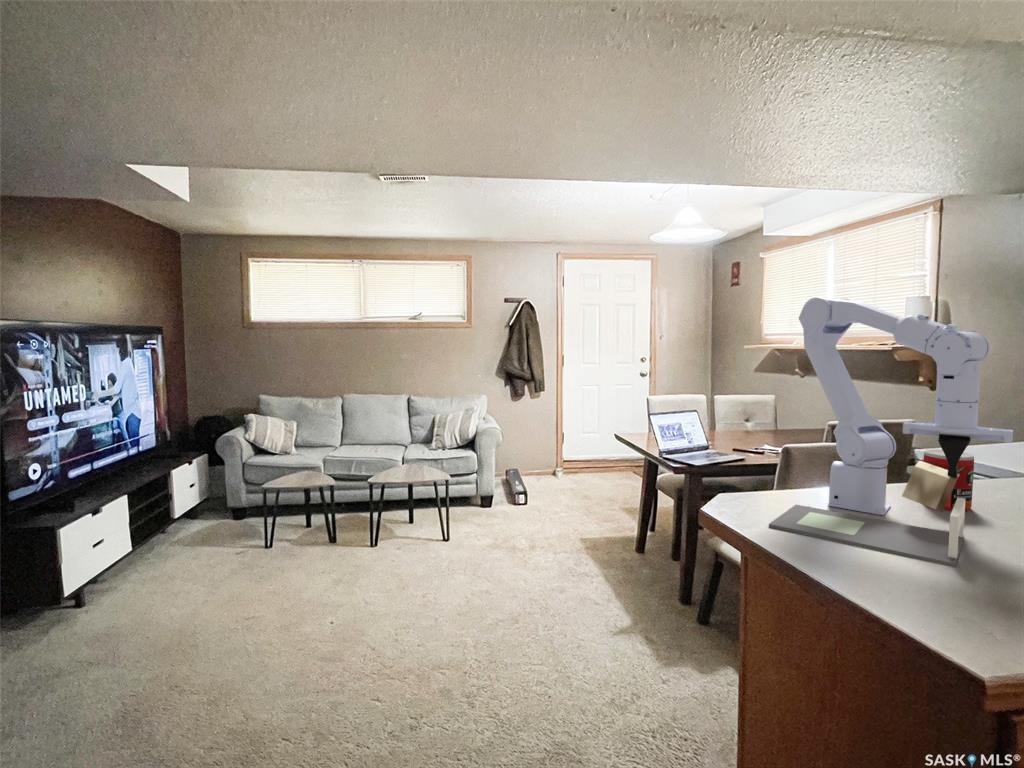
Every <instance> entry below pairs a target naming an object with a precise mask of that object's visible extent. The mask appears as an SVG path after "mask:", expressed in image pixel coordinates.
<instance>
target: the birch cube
mask: <svg viewBox="0 0 1024 768" xmlns="http://www.w3.org/2000/svg"><path fill="white" fill-rule="evenodd" d="M959 475H960V474H958V476H957V478H954V477H951V476H948V470H946V469H943V468H940V467H937V466H934V465H931V464H928V463H925V462H923V461H922V460H918V461H917V463H916V464H915V465H914V468H913V470H912V471H911V474H910V476H909V479H908V481H907V483H906V486H905V488H904V490H903V492H902V495H901V497H902V498H905V499H907V500H910V501H912V502H915V503H918V504H921V505H923V506H926V507H928V508H931V509H933V510H936V511H938V512H941V513H943V511H945V510H944V508H945V505H946V503H947V501H948V499H949V497H950V495H951V492H952V490H953V488H954V486H955V484H956V481H957V479H958V477H959Z"/></svg>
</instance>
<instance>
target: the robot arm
mask: <svg viewBox="0 0 1024 768" xmlns="http://www.w3.org/2000/svg"><path fill="white" fill-rule="evenodd" d="M930 318H931V315H928V314H925V313H919V314H918V315H916V314H910V315H907V316H905V317H900V316H898V315H895V314H893V313H890V312H888V311H885V310H882V309H879V308H878V307H875V306H872V305H870V304H867V303H865V302H863V301H858V300H851V299H849V298H826V297H825V298H824V297H820V296H819V297H812V298H810V299H808V300H807V301H806V302H805V303H804V305H803V306H802V309H801V312H800V314H799V316H798V320H799V322H800V324H801V327H802V329H803V346H804V350H805V352H806V354H807V356H808V357H807V358H808V359H809V362H810V363H811V365H812V367H813V369H814V372H815V374H816V376H817V379H818V380H819V382H820V385H821V387H822V389H823V391H824V394H825V396H826V398H827V400H828V402H829V405H830V407H831V409H832V411H833V413H834V416H835V417H836V420H837V424H836V427H835V428H834V430H833V435H834V437H835V442H836V446H835V447H836V452H837V455H838V456H839V458H840V459H841V460H842V461H840V460H839V461H838V460H833V462H832V463H831V466H830V471H829V487H828V488H829V489H828V490H829V492H828V503H827V506H829V507H833V508H839V509H845V510H851V511H856V512H862V513H867V514H873V515H878V516H885V514H886V513H887V512H888V511H889V509H890V508H892V507H891V504H889V503H886V502H887V499H886V497H887V476H888V465H889V459H891V458H892V457H893V456H895V453H896V451H897V442H896V440H895V437H894V436H893V435H892V434H891V433H890V432H888V431H887V430H886V429H885V428H884V426H883V424H882V422H881V421H880V420H878V419H877V418H876V417H874V416H872V415H871V414H870V413H869V412H868V410H867V408H866V406H865V404H864V402H863V400H862V398H861V396H860V393H859V392H858V390H857V388H856V386H855V383H854V382H853V379H852V377H851V376H850V373H849V371H848V370H847V367H846V365H845V362H844V361H843V359H842V357H841V355H840V353H839V350H838V348H837V344H838V342H839V341H840V339H841V338H842V337H844V335H845V333H847V331H848V330H849V329H850V327H851V326H852V325H853V324H862V325H864V326H868V327H871V328H874V329H876V330H880V331H883V332H886V333H889V334H892V335H893V338H894V341H895V342H896V343H897V344H899V345H901V346H904V347H906V348H909V349H912V350H914V351H917V352H920V353H922V354H925V355H927V356H930V357H931V358H932V359H933V361H934V362H935V363H936V389H935V405H934V406H935V409H934V423H930V422H910V421H909V422H908V421H905V422H903V423H902V435H903V434H905V435H911V434H913V435H923V436H932V437H933V436H934V437H935V436H936V437H938V439H937V441H938V444H939V446H940V447H941V450H943V452H944V454H945V456H946V459H947V461H948V464H949V468H948V476H951V477H954V478H957V476H958V466H957V464H958V461H959V459H960V457H961V455H962V454H963V452H964V453H965V450H966V449H967V447H968V446H969V445H970V443H971V440H978V441H979V440H981V441H982V440H983V441H993V442H1003V443H1006V444H1007V443H1008V444H1013V437H1014V434H1013V433H1014V430H1013V429H1003V428H996V427H995V428H994V427H985V426H978V424H979V423H978V422H979V421H978V420H979V406H980V404H979V403H980V387H981V365H982V364H981V363H982V361H983V360H984V359H985V358H986V357H987V356H988V354H989V351H990V344H989V343H990V342H989V341H988V339H987V338H986V337H985V336H984V335H982V334H980V333H978V331H976V330H962V331H959V330H958V325H955V324H953V323H949V324H947V325H946V324H944V323H939V322H937V321H935V320H932V319H930Z"/></svg>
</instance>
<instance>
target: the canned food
mask: <svg viewBox="0 0 1024 768" xmlns="http://www.w3.org/2000/svg"><path fill="white" fill-rule="evenodd" d="M923 462H925V463H928V464H931V465H934V466H937V467H940V468H943V469H946V470H948V468H949V464H948V461H947V459H946V456H945V454H944V452H943V450H942V449H925V450H924V451H923ZM957 466H958V474H960V475H959V477H958V479H957V481H956V484H955V486H954V488H953V490H952V492H951V495H950V497H949V499H948V501H947V503H946V505H945V508H944V510H943V511H947V510H948V511H949V512H952V510H953V508H954V505H955V503H956V500H957V498H964V499H965V512H969V511H971V508H972V505H973V504H972V503H973V488H974V487H973V486H974V471H975V455H973V454H972V453H967V452H965V451H964V452H963V454H962V455H961V457H960V459H959V461H958V464H957ZM968 510H969V511H968Z"/></svg>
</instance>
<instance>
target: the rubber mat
mask: <svg viewBox="0 0 1024 768" xmlns="http://www.w3.org/2000/svg"><path fill="white" fill-rule="evenodd" d="M768 528H771V529H776V530H781V531H786V532H790V533H795V534H798V535H799V534H800V535H805V536H809V537H814V538H818V539H822V540H825V541H832V542H835V543H840V542H841V544H845V545H849V544H850V546H854V545H856V546H855V547H859V546H861V547H860V548H864V547H865V548H864V549H868V548H870V549H869V550H873V549H875V550H874V551H878V550H880V551H879V552H883V551H884V552H883V553H888V554H893V555H898V556H903V557H907V558H912V559H917V560H921V561H922V560H923V561H925V562H926V561H927V562H930V563H935V564H940V565H945V566H949V567H950V566H951V567H955V568H956V567H957V566H956V565H957V563H958V559H959V556H960V552H961V550H962V549H961V548H962V546H963V542H964V539H965V535H963V537H960V536H958V553H957V558H953V557H948V548H949V532H948V531H942V530H938V529H937V530H936V529H932V528H926V527H920V526H916V525H911V524H905V523H899V522H895V521H894V522H893V521H888V520H882V519H878V518H871V517H866V516H860V515H855V514H850V513H846V512H845V513H844V512H839V511H834V510H833V511H832V510H829V509H828V510H827V509H822V508H817V507H812V506H805V505H800V504H795V505H793V506H791V508H788V510H786V511H785V512H784V513H782V514H780V515H779V516H778V517H776V518H775V519H773V521H771V522H769V523H768Z"/></svg>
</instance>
